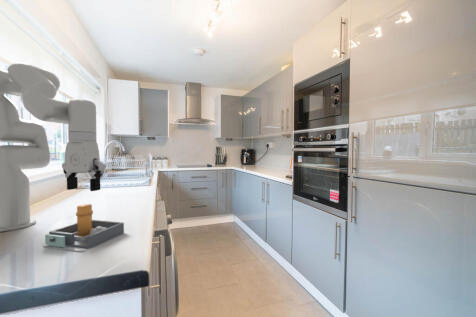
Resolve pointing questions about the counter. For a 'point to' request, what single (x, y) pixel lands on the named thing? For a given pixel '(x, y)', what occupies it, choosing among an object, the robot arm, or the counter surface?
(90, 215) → the peg
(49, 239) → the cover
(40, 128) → the robot arm
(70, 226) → the tray
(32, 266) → the counter surface
